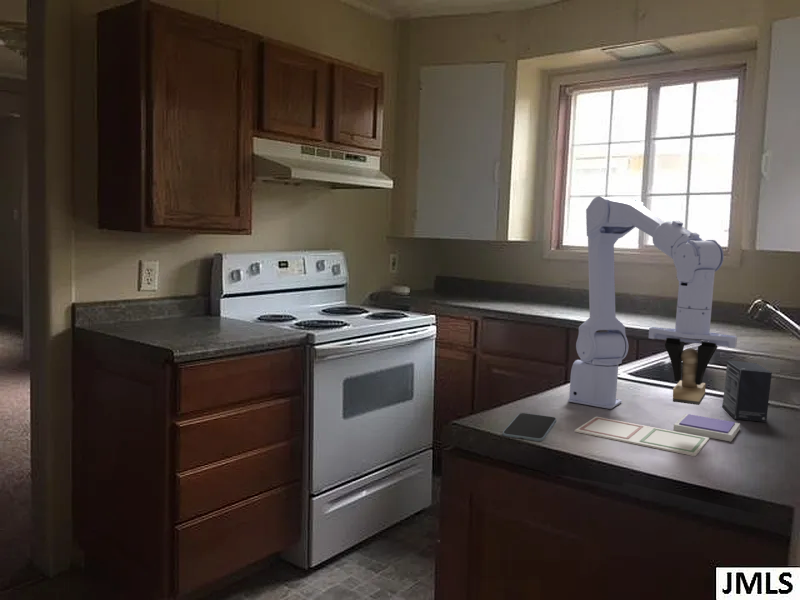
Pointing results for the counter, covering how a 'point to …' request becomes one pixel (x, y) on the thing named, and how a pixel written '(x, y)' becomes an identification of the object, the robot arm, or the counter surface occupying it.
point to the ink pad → (707, 427)
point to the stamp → (689, 380)
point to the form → (644, 435)
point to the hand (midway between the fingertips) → (688, 382)
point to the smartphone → (530, 426)
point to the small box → (746, 391)
